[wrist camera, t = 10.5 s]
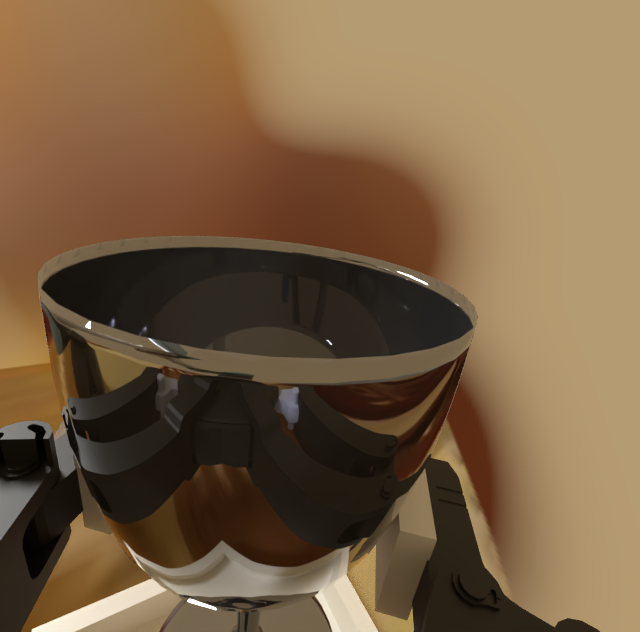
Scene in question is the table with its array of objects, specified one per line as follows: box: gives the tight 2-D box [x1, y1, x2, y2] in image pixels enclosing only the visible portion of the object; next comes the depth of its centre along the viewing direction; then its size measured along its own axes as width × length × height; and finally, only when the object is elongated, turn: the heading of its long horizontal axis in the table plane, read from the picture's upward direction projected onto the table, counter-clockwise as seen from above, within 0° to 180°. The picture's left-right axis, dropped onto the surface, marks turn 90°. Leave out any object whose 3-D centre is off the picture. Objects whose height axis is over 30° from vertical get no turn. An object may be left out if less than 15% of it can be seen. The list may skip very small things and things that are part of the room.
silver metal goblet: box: [38, 236, 478, 632], centre depth 10 cm, size 8×8×15 cm
